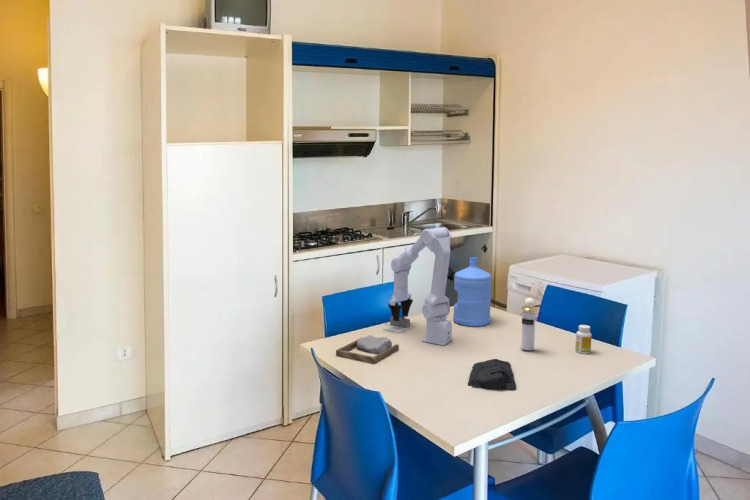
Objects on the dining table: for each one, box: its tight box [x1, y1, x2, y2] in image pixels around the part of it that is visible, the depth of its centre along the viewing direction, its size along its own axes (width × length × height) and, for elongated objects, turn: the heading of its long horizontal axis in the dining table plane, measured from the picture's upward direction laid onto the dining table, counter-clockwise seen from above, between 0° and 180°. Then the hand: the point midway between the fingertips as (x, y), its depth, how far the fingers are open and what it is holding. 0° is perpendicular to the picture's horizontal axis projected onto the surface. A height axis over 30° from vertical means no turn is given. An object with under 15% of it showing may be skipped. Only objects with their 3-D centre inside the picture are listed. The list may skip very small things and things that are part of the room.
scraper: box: [382, 316, 411, 334], centre depth 261 cm, size 8×8×4 cm
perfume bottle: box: [520, 297, 538, 351], centre depth 234 cm, size 6×6×20 cm
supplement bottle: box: [575, 324, 593, 355], centre depth 233 cm, size 5×5×10 cm
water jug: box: [452, 256, 493, 328], centre depth 269 cm, size 16×16×28 cm
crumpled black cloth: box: [467, 358, 517, 391], centre depth 209 cm, size 15×22×5 cm
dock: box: [335, 337, 400, 365], centre depth 232 cm, size 16×17×2 cm
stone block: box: [356, 334, 393, 355], centre depth 237 cm, size 12×5×10 cm
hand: (400, 318), depth 263 cm, fingers open, 7 cm apart
